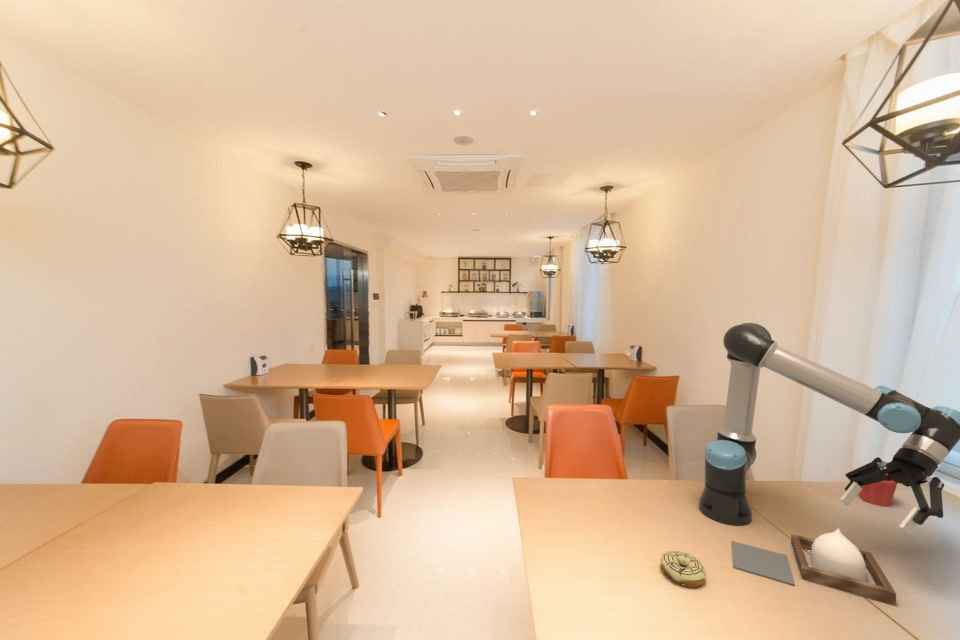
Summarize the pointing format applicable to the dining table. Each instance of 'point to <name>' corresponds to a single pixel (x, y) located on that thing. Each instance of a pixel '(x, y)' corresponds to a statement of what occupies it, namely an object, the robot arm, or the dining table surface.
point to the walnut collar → (861, 588)
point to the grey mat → (762, 562)
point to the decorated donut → (683, 568)
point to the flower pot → (878, 492)
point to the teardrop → (838, 556)
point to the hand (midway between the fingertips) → (871, 515)
